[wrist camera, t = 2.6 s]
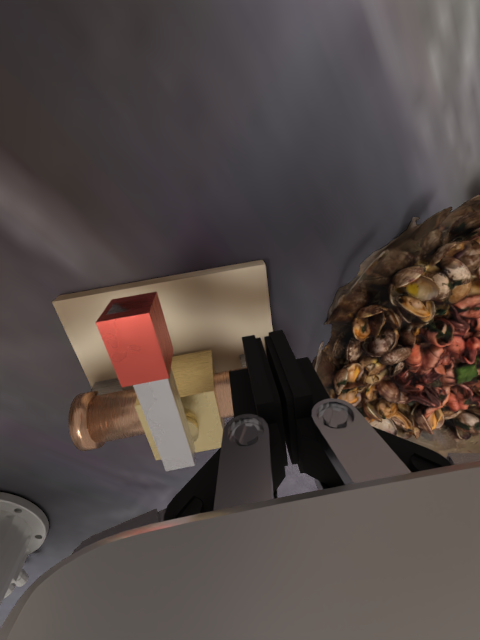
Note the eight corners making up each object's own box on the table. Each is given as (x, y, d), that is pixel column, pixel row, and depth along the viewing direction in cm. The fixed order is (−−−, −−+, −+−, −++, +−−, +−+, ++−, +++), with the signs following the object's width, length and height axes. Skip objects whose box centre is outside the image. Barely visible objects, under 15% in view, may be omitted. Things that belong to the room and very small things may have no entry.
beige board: (278, 397, 34) (281, 406, 33) (118, 428, 34) (115, 438, 32) (262, 259, 27) (265, 264, 26) (59, 295, 26) (51, 301, 25)
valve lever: (201, 440, 24) (201, 481, 21) (168, 446, 24) (163, 488, 20) (158, 288, 18) (148, 312, 15) (114, 296, 18) (95, 322, 15)
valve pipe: (278, 384, 32) (298, 439, 25) (105, 418, 31) (80, 483, 24) (273, 335, 29) (294, 382, 22) (83, 370, 28) (48, 429, 22)
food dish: (376, 129, 25) (449, 107, 18) (639, 231, 33) (763, 244, 26) (256, 447, 38) (271, 508, 31) (466, 466, 45) (516, 519, 38)
